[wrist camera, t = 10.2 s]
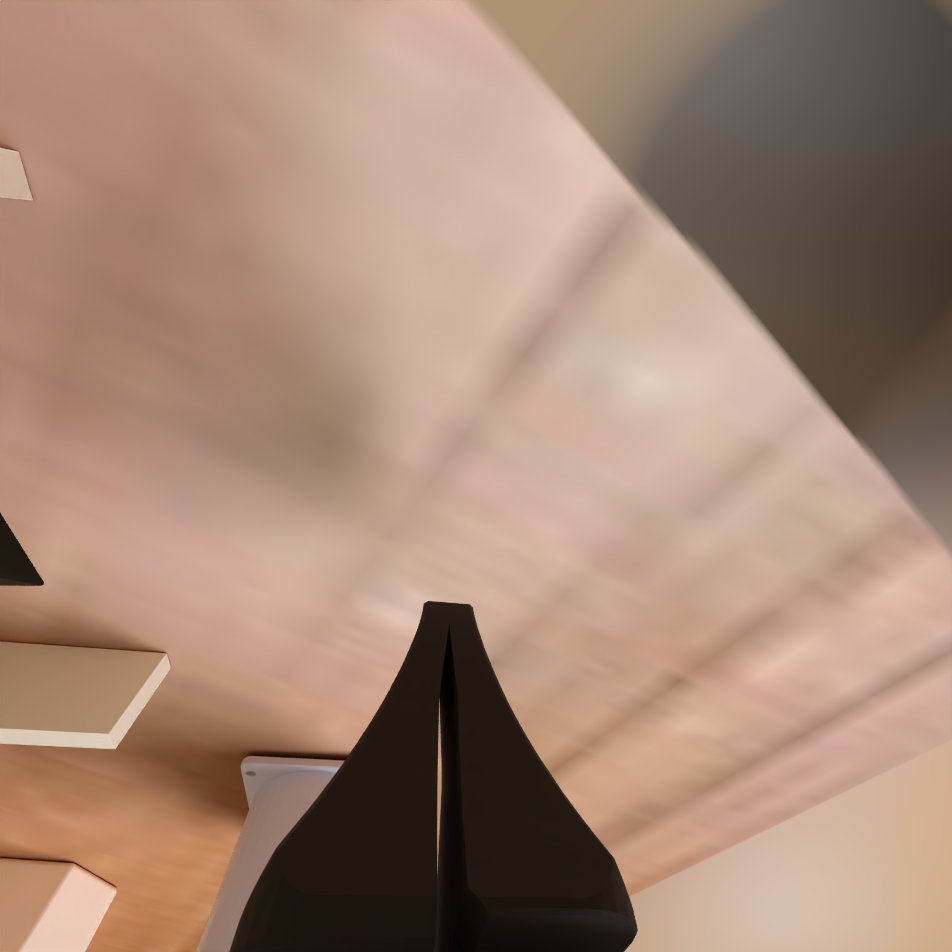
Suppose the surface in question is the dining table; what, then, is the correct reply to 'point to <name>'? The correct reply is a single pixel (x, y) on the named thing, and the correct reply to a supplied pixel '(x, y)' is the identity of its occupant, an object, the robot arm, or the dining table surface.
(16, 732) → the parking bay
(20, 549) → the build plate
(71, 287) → the dining table surface
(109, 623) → the dining table surface
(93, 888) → the jar
